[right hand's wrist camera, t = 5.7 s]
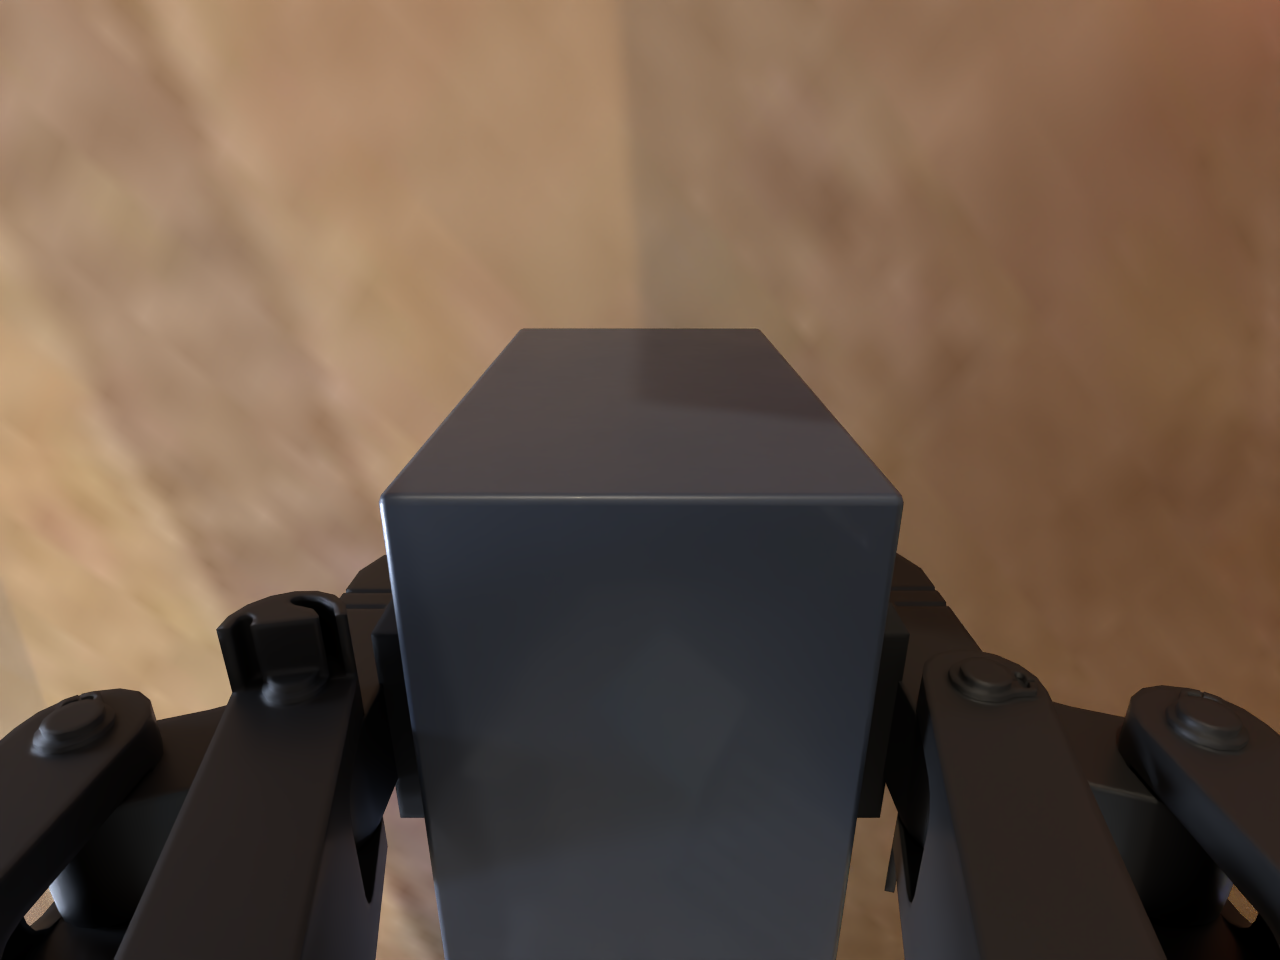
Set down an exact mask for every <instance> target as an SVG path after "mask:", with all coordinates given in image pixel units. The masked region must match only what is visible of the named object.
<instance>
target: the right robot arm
mask: <svg viewBox="0 0 1280 960" xmlns="http://www.w3.org/2000/svg"><path fill="white" fill-rule="evenodd" d="M216 630H217V634H218V638H219V642H220V646H221V650H222V654H223V658H224V661H225V665H226V669H227V673H228V677H229V681H230V685H231V689H232V695H231V697H230V699H229V702H228V704H227V705H226V706H222V707H218V708H215V709H211V710H206V711H201V712H196V713H191V714H186V715H182V716H177V717H172V718H167V719H162V720H157V721H156V717H155V714H154V711H153V708H152V704H151V701H150V700H149V699H148V698H147V697H146V696H144V695H143V694H142V693H141V692H139V691H133V690H126V689H110V690H101V691H93V692H88V693H83V694H81V695H80V696H78V695H76V696H73V697H70V698H67V699H64V700H62V701H61V702H59V703H57V704H55V705H53V706H51V707H48V708H46V709H44V710H42V711H40V712H38V713H36V714H35V715H33V716H32V717H30V718H29V719H28V720H26V721H25V722H23V723H22V724H20V725H19V726H17V727H16V728H14V729H13V730H12V731H11V732H10V733H9V734H7V735H6V736H5V737H4V738H3V739H2V740H0V960H375V958H376V949H377V939H378V930H379V921H380V911H381V902H382V892H383V883H384V874H385V864H386V855H387V839H386V833H385V827H384V821H383V814H384V811H385V809H386V806H387V804H388V801H389V799H390V797H391V794H392V792H393V789H394V787H395V786H396V792H397V798H398V804H399V810H400V816H401V818H425V817H424V810H423V803H422V796H421V789H420V782H419V776H418V769H417V762H416V755H415V748H414V741H413V734H412V727H411V720H410V713H409V706H408V699H407V692H406V685H405V679H404V672H403V665H402V658H401V651H400V644H399V637H398V630H397V623H396V616H395V609H394V602H393V595H392V589H391V582H390V575H389V568H388V561H387V555H384V556H382V557H380V558H379V559H377V560H376V561H374V562H373V563H371V564H370V565H368V566H367V567H365V568H363V569H362V570H360V571H359V573H358V574H357V575H356V577H355V578H354V579H353V581H352V582H351V584H350V585H349V586H348V588H347V589H346V593H343V594H342V596H341V597H340V599H339V598H338V597H337V596H335V595H333V594H328V593H324V592H319V591H294V592H289V593H284V594H279V595H274V596H270V597H267V598H264V599H261V600H259V601H256V602H253V603H251V604H248V605H246V606H244V607H243V608H241V609H240V610H238V611H236V612H235V613H233V614H231V615H230V616H228V617H227V618H226V619H225V620H224V622H223V623H222V624H221V625H220V626H219V627H218V628H217V629H216ZM885 783H886V784H887V787H888V789H889V792H890V794H891V797H892V799H893V801H894V804H895V806H896V809H897V811H898V815H897V821H896V827H895V832H894V838H893V844H892V849H891V855H890V861H889V867H888V872H887V878H886V885H885V891H889V892H894V890H895V885H896V881H897V891H898V900H899V909H900V919H901V928H902V938H903V947H904V956H905V960H1280V735H1279V734H1277V733H1276V732H1275V731H1274V730H1273V729H1272V728H1270V727H1269V726H1268V725H1267V724H1265V723H1264V722H1262V721H1261V720H1259V719H1258V718H1256V717H1255V716H1253V715H1252V714H1250V713H1249V712H1247V711H1246V710H1245V709H1243V708H1240V707H1238V706H1236V705H1234V704H1232V703H1229V702H1227V701H1225V700H1223V699H1222V698H1220V697H1218V696H1215V695H1212V694H1209V693H1206V692H1204V693H1203V692H1200V691H1199V690H1195V689H1190V688H1182V687H1173V686H1163V685H1161V686H1154V687H1148V688H1142V689H1141V690H1140V691H1138V692H1137V693H1136V694H1134V695H1133V696H1132V697H1131V700H1130V703H1129V706H1128V710H1127V713H1126V716H1125V718H1124V717H1120V716H1115V715H1110V714H1105V713H1100V712H1095V711H1090V710H1085V709H1080V708H1075V707H1070V706H1066V705H1063V704H1059V703H1055V702H1052V700H1051V698H1050V696H1049V694H1048V692H1047V690H1046V689H1045V688H1044V686H1043V685H1042V684H1041V682H1040V681H1039V680H1038V678H1037V677H1036V676H1034V675H1033V674H1031V673H1030V672H1029V671H1027V670H1026V669H1024V668H1023V667H1021V666H1020V665H1019V664H1016V663H1014V662H1012V661H1009V660H1007V659H1005V658H1002V657H1000V656H998V655H994V654H990V653H985V652H982V651H981V649H980V648H979V647H978V645H977V644H976V642H975V641H974V640H973V638H972V637H971V636H970V634H969V633H968V632H967V630H966V629H965V627H964V626H963V625H962V623H961V622H960V621H959V619H958V618H957V617H956V615H955V614H954V613H953V611H952V610H951V608H950V607H949V606H946V602H945V600H944V599H943V598H942V596H941V595H940V593H939V592H938V591H935V587H934V585H933V584H932V583H931V581H930V580H929V579H928V577H927V576H926V574H925V573H924V572H923V570H922V569H921V568H919V567H918V566H916V565H915V564H913V563H912V562H910V561H909V560H907V559H905V558H904V557H902V556H901V555H899V554H898V553H896V558H895V565H894V571H893V578H892V585H891V592H890V598H889V605H888V612H887V618H886V625H885V632H884V639H883V645H882V652H881V659H880V666H879V672H878V679H877V686H876V693H875V699H874V706H873V713H872V720H871V726H870V733H869V740H868V747H867V753H866V760H865V767H864V774H863V780H862V787H861V794H860V801H859V807H858V814H857V818H880V813H881V807H882V801H883V795H884V789H885ZM1233 884H1234V885H1235V886H1236V887H1237V888H1238V890H1239V891H1240V892H1241V893H1242V894H1243V895H1244V896H1245V898H1246V899H1247V900H1248V901H1249V902H1250V903H1251V905H1252V906H1253V907H1254V908H1255V909H1256V910H1257V912H1258V913H1259V914H1258V916H1257V918H1256V920H1255V921H1254V923H1253V924H1252V923H1250V922H1249V921H1248V920H1247V919H1245V918H1244V917H1243V916H1242V915H1241V914H1240V913H1239V912H1238V911H1237V909H1236V908H1235V907H1234V906H1233V905H1232V903H1231V902H1230V901H1229V900H1228V899H1227V898H1228V896H1229V893H1230V891H1231V889H1232V886H1233ZM48 887H49V889H50V892H51V894H52V896H53V899H54V902H53V903H52V905H51V906H50V907H49V908H48V909H47V911H46V912H45V913H44V914H43V915H42V916H41V917H40V918H39V919H38V920H37V921H36V922H34V923H33V924H32V925H31V926H29V925H28V924H27V923H26V921H25V919H24V915H25V914H26V913H27V912H28V911H29V910H30V908H31V907H32V906H33V905H34V904H35V903H36V901H37V900H38V899H39V898H40V897H41V896H42V894H43V893H44V892H45V891H46V890H47V889H48Z"/></svg>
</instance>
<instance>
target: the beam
mask: <svg viewBox="0 0 1280 960" xmlns="http://www.w3.org/2000/svg"><path fill="white" fill-rule="evenodd" d="M903 504H904V502H903V498H902V495H901V494H900V493H899V492H898V491H897V489H896V488H895V487H894V486H893V485H892V484H891V482H890V481H889V480H888V479H887V478H886V477H885V475H884V474H883V473H882V472H881V471H880V470H879V468H878V467H877V466H876V465H875V464H874V463H873V461H872V460H871V459H870V458H869V457H868V456H867V454H866V453H865V452H864V451H863V450H862V448H861V447H860V446H859V445H858V444H857V443H856V441H855V440H854V439H853V438H852V437H851V436H850V434H849V433H848V432H847V431H846V430H845V429H844V427H843V426H842V425H841V424H840V423H839V422H838V420H837V419H836V418H835V417H834V416H833V415H832V413H831V412H830V411H829V410H828V409H827V408H826V406H825V405H824V404H823V403H822V402H821V401H820V399H819V398H818V397H817V396H816V395H815V394H814V392H813V391H812V390H811V389H810V388H809V387H808V385H807V384H806V383H805V382H804V381H803V380H802V378H801V377H800V376H799V375H798V374H797V373H796V371H795V370H794V369H793V368H792V367H791V366H790V364H789V363H788V362H787V361H786V360H785V359H784V357H783V356H782V355H781V354H780V353H779V352H778V350H777V349H776V348H775V347H774V346H773V345H772V343H771V342H770V341H769V340H768V339H767V338H766V336H765V335H764V334H763V333H762V332H761V331H760V330H758V329H521V330H520V331H519V332H518V333H517V334H516V336H515V337H514V338H513V339H512V340H511V342H510V343H509V344H508V345H507V346H506V347H505V349H504V350H503V351H502V352H501V353H500V355H499V356H498V357H497V358H496V359H495V361H494V362H493V363H492V364H491V365H490V366H489V368H488V369H487V370H486V371H485V372H484V374H483V375H482V376H481V377H480V378H479V379H478V381H477V382H476V383H475V384H474V385H473V387H472V388H471V389H470V390H469V391H468V393H467V394H466V395H465V396H464V397H463V398H462V400H461V401H460V402H459V403H458V404H457V406H456V407H455V408H454V409H453V410H452V412H451V413H450V414H449V415H448V416H447V417H446V419H445V420H444V421H443V422H442V423H441V425H440V426H439V427H438V428H437V429H436V431H435V432H434V433H433V434H432V435H431V436H430V438H429V439H428V440H427V441H426V442H425V444H424V445H423V446H422V447H421V448H420V450H419V451H418V452H417V453H416V454H415V455H414V457H413V458H412V459H411V460H410V461H409V463H408V464H407V465H406V466H405V467H404V469H403V470H402V471H401V472H400V473H399V474H398V476H397V477H396V478H395V479H394V480H393V482H392V483H391V484H390V485H389V486H388V488H387V489H386V490H385V491H384V492H383V493H382V495H381V497H380V500H379V505H380V512H381V519H382V526H383V533H384V540H385V547H386V554H387V561H388V568H389V575H390V582H391V589H392V595H393V602H394V609H395V616H396V623H397V630H398V637H399V644H400V651H401V658H402V665H403V672H404V679H405V685H406V692H407V699H408V706H409V713H410V720H411V727H412V734H413V741H414V748H415V755H416V762H417V769H418V776H419V782H420V789H421V796H422V803H423V810H424V817H425V824H426V831H427V838H428V845H429V852H430V859H431V866H432V872H433V879H434V886H435V893H436V900H437V907H438V914H439V921H440V928H441V935H442V942H443V949H444V956H445V960H836V956H837V949H838V942H839V935H840V929H841V922H842V915H843V908H844V902H845V895H846V888H847V881H848V875H849V868H850V861H851V854H852V848H853V841H854V834H855V827H856V821H857V814H858V807H859V801H860V794H861V787H862V780H863V774H864V767H865V760H866V753H867V747H868V740H869V733H870V726H871V720H872V713H873V706H874V699H875V693H876V686H877V679H878V672H879V666H880V659H881V652H882V645H883V639H884V632H885V625H886V618H887V612H888V605H889V598H890V592H891V585H892V578H893V571H894V565H895V558H896V551H897V544H898V538H899V531H900V524H901V517H902V511H903Z"/></svg>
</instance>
